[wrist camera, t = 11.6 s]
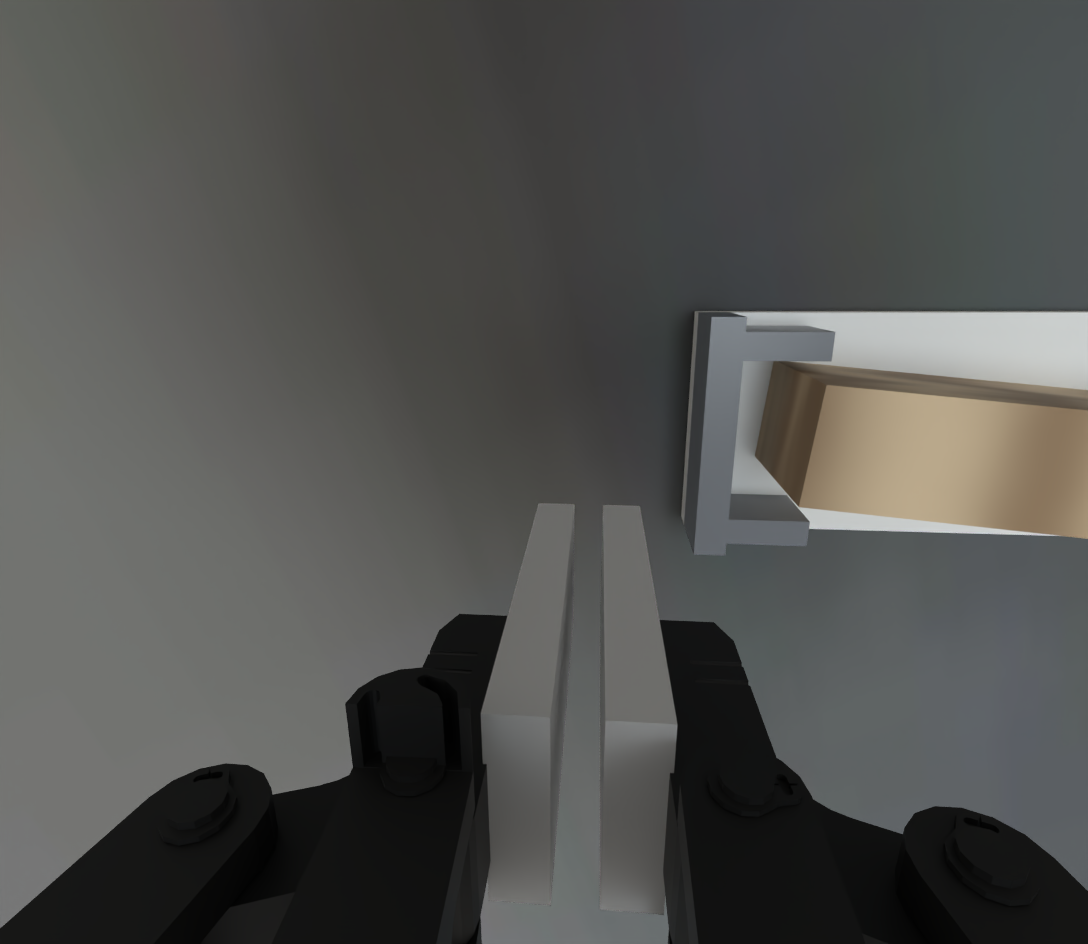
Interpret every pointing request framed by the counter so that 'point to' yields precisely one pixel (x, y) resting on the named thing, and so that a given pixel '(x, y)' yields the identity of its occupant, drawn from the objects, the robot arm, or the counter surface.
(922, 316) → the holder
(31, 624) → the counter surface
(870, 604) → the counter surface
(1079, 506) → the tan rectangular block
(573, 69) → the counter surface
